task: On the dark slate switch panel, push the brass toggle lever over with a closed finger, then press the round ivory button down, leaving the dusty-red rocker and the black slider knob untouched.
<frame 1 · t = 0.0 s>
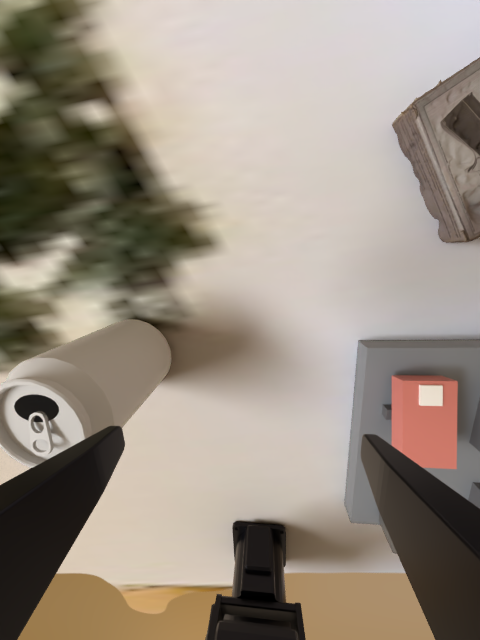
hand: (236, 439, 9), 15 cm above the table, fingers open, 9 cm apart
slider: (401, 529, 22), point 4 cm above the table, slide at -3.0 cm
panel: (443, 433, 23), on the table
can: (141, 350, 25), on the table
rocker: (423, 420, 19), point 4 cm above the table, hinge at 12.0°
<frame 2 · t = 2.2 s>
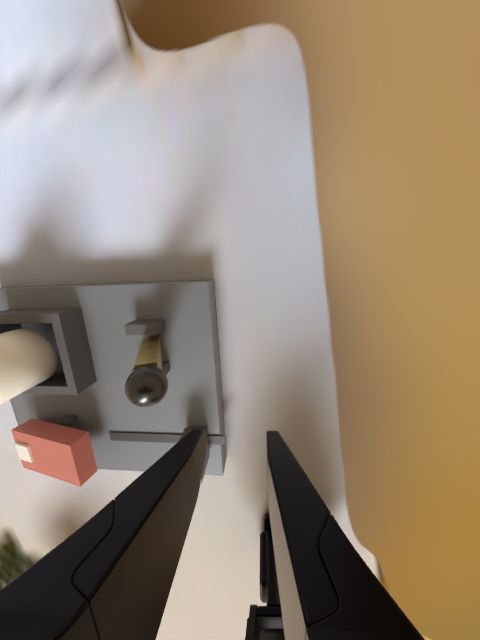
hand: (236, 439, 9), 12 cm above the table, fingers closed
lever: (150, 365, 15), point 6 cm above the table, hinge at -23.0°
slider: (192, 453, 19), point 4 cm above the table, slide at -3.0 cm
panel: (119, 377, 22), on the table
button: (2, 366, 16), point 6 cm above the table, slide at 0.0 cm
rocker: (53, 451, 20), point 4 cm above the table, hinge at 12.0°
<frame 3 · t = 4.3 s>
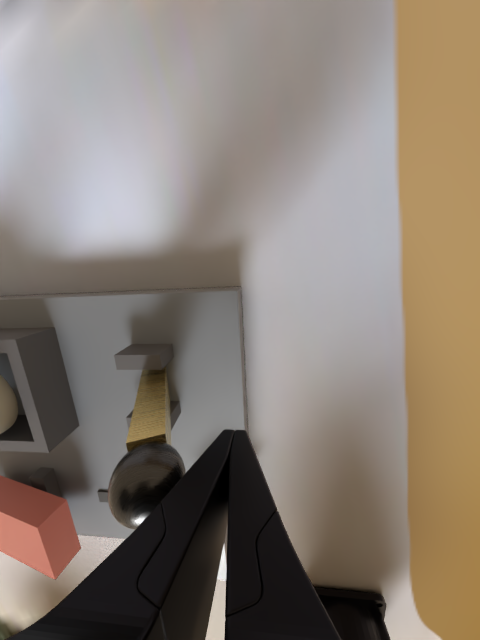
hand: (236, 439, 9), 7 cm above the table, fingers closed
lever: (153, 425, 10), point 6 cm above the table, hinge at -23.0°, touching gripper
slider: (213, 531, 14), point 4 cm above the table, slide at -3.0 cm
panel: (111, 415, 17), on the table
rocker: (20, 523, 15), point 4 cm above the table, hinge at 12.0°
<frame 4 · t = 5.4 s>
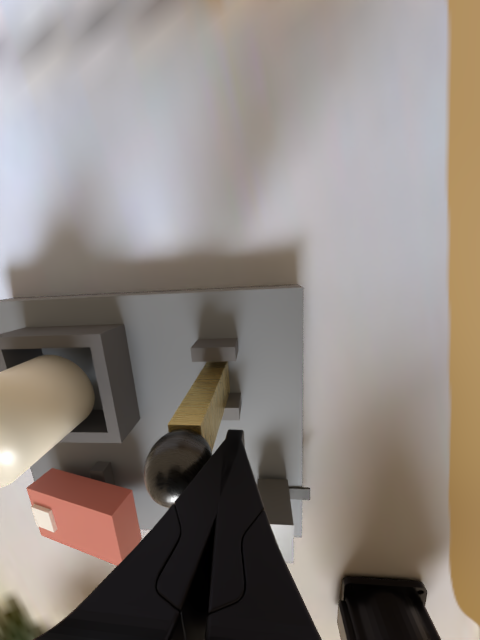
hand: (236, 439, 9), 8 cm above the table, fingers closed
lever: (202, 414, 10), point 6 cm above the table, hinge at 1.9°, touching gripper
slider: (274, 517, 14), point 4 cm above the table, slide at -3.0 cm
panel: (163, 410, 18), on the table
button: (22, 412, 11), point 6 cm above the table, slide at 0.0 cm
rocker: (83, 515, 15), point 4 cm above the table, hinge at 12.0°
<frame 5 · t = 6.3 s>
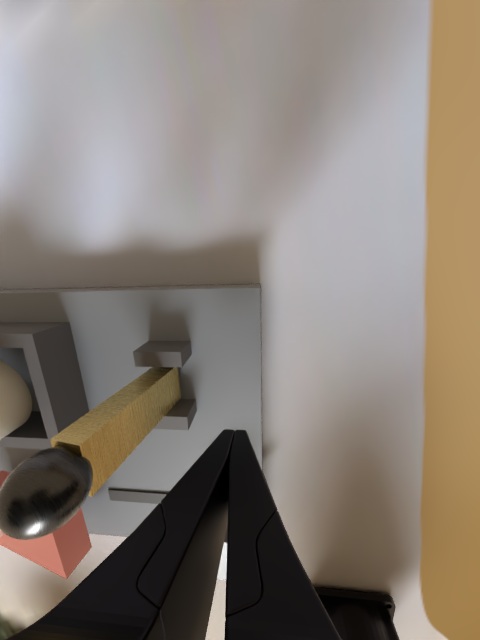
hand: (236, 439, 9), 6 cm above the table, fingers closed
lever: (118, 426, 9), point 6 cm above the table, hinge at 9.8°
slider: (227, 531, 14), point 4 cm above the table, slide at -3.0 cm
panel: (122, 412, 17), on the table
rocker: (30, 521, 14), point 4 cm above the table, hinge at 12.0°
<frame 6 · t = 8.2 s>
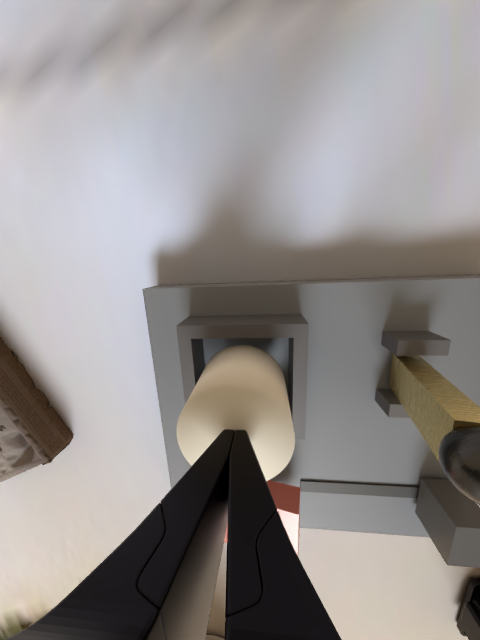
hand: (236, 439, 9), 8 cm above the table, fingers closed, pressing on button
lever: (438, 411, 10), point 6 cm above the table, hinge at 10.1°
slider: (451, 519, 14), point 4 cm above the table, slide at -3.0 cm
panel: (304, 405, 17), on the table
button: (239, 406, 10), point 6 cm above the table, slide at 0.1 cm, touching gripper
rocker: (241, 511, 15), point 4 cm above the table, hinge at 12.0°
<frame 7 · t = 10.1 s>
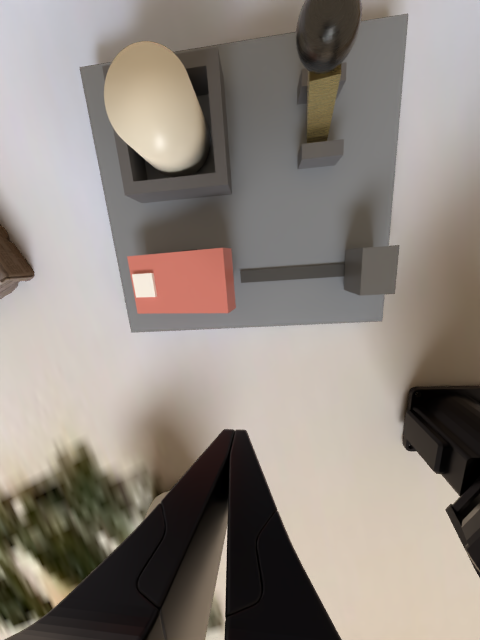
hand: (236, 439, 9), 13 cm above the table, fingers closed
lever: (321, 82, 11), point 6 cm above the table, hinge at 10.1°
slider: (368, 270, 15), point 4 cm above the table, slide at -3.0 cm
panel: (244, 210, 18), on the table
button: (164, 123, 13), point 5 cm above the table, slide at 1.5 cm
rocker: (181, 282, 16), point 4 cm above the table, hinge at 12.0°
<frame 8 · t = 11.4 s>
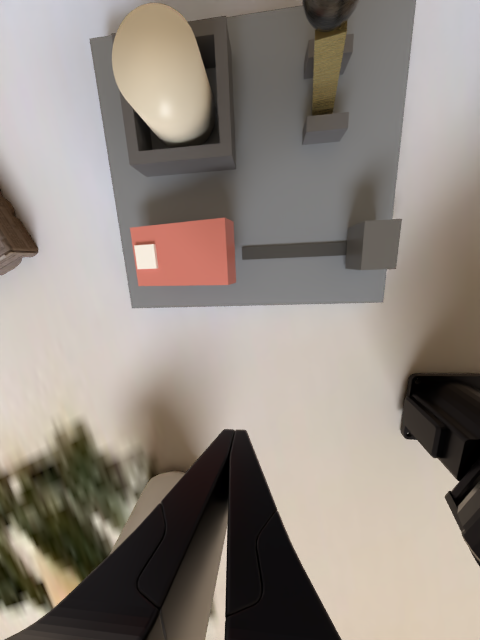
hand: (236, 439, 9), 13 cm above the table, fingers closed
lever: (327, 47, 11), point 6 cm above the table, hinge at 10.1°
slider: (370, 246, 15), point 4 cm above the table, slide at -3.0 cm
panel: (248, 188, 18), on the table
can: (179, 489, 27), on the table
button: (170, 91, 13), point 5 cm above the table, slide at 1.5 cm
rocker: (182, 255, 16), point 4 cm above the table, hinge at 12.0°
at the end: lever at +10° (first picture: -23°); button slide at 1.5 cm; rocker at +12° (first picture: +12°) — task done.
